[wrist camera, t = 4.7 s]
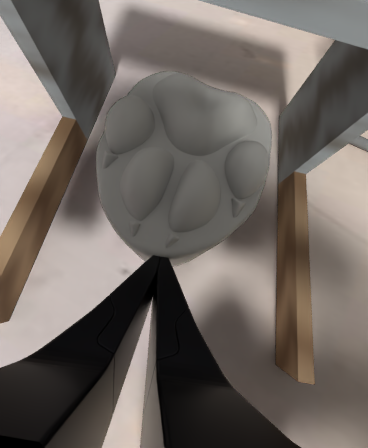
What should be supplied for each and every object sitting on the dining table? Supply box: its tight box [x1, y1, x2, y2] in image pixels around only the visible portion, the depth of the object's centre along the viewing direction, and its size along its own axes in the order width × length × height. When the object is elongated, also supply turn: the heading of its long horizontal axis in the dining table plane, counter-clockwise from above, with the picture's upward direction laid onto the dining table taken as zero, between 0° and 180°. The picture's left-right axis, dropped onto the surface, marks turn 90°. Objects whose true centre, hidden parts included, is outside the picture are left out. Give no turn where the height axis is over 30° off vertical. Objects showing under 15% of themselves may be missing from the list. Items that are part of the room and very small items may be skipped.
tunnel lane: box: [0, 0, 368, 385], centre depth 12 cm, size 27×23×13 cm
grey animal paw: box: [96, 71, 272, 266], centre depth 13 cm, size 10×13×9 cm
